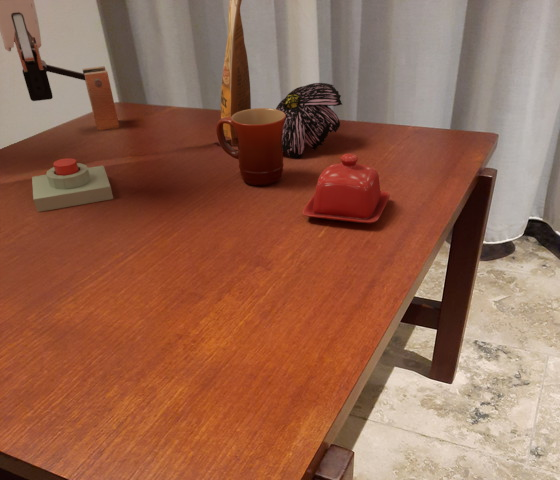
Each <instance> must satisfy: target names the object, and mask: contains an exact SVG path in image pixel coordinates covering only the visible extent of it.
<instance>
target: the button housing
mask: <svg viewBox="0 0 560 480" xmlns="http://www.w3.org/2000/svg"><path fill="white" fill-rule="evenodd" d="M77 166H78V169H79V171H78V172H77V173H74V174H72V175H66V176H61V175H56V172H55V168H54V166H53V167H50V169H48V170H47V171H46V174H41V175H34V176H31V184H32V199H33V203H34V205H35V209H36V211H37V213H42V212H47V211H51V210H52V211H53V210H58V209H63V208H69V207H75V206H81V205H86V204H91V203H98V202H103V201H110V200H114V194H113V191H112V186H111V184H110V180H109V178H108V177H109V176H108V174H107V171H106V168H105V165H97V166H92V167H91V166H90V167H88V165H86V164H84V163H80V162H78V163H77Z"/></svg>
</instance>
